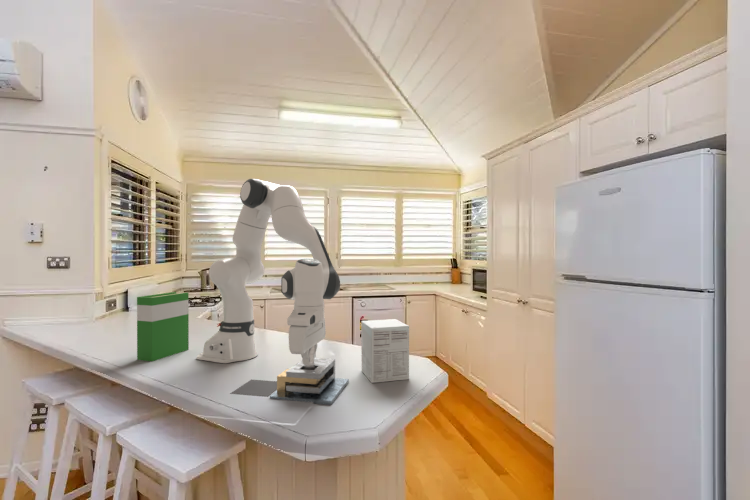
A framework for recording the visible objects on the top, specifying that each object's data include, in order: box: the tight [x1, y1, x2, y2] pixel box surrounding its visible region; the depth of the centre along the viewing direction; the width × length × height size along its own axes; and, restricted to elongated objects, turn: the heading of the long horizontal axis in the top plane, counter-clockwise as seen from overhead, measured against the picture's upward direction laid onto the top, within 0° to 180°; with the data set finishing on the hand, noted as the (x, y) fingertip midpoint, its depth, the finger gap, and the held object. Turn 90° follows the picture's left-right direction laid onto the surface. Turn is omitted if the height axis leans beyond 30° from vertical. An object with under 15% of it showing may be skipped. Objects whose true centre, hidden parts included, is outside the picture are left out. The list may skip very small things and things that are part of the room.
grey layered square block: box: [269, 357, 350, 406], centre depth 114 cm, size 18×18×8 cm
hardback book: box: [136, 291, 190, 363], centre depth 152 cm, size 18×7×24 cm, turn 162°
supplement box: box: [360, 318, 410, 384], centre depth 128 cm, size 13×13×18 cm
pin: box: [304, 345, 315, 384], centre depth 112 cm, size 3×3×14 cm
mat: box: [229, 379, 277, 398], centre depth 115 cm, size 12×12×1 cm
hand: (309, 361), depth 112 cm, fingers open, 3 cm apart
